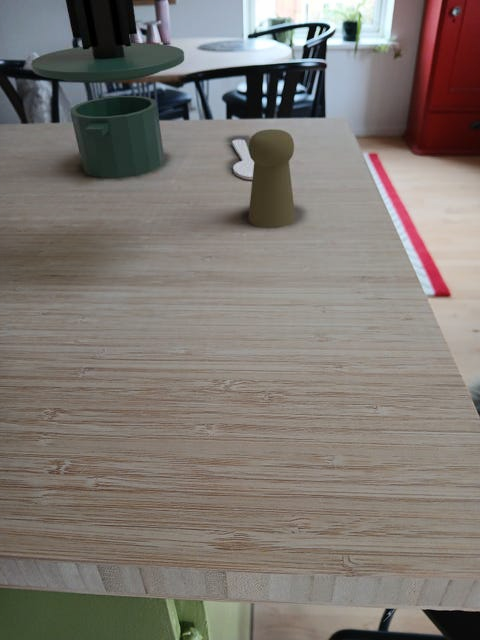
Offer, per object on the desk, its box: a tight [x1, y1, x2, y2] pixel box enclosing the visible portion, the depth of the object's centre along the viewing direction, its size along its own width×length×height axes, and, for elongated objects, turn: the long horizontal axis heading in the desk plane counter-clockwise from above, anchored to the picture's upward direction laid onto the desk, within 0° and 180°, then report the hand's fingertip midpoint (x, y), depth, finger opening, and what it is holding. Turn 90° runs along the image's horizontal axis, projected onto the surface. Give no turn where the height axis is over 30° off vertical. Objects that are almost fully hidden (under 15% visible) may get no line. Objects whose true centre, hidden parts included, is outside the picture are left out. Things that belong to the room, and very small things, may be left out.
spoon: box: [231, 139, 254, 181], centre depth 82 cm, size 5×18×1 cm, turn 8°
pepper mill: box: [248, 128, 296, 229], centre depth 61 cm, size 6×6×11 cm
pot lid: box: [30, 0, 185, 84], centre depth 45 cm, size 14×14×7 cm
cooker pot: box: [70, 95, 165, 179], centre depth 79 cm, size 13×18×10 cm
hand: (106, 43), depth 46 cm, fingers closed on pot lid, 2 cm apart
